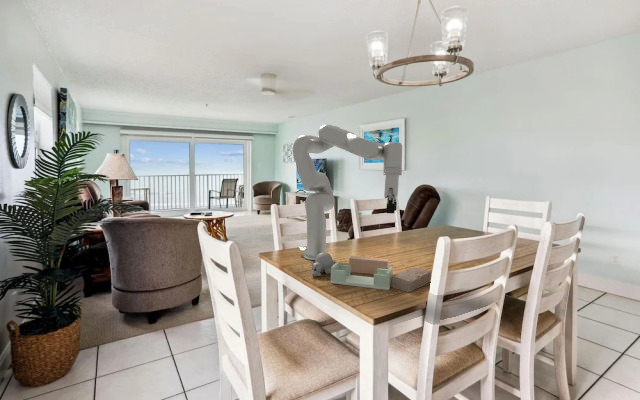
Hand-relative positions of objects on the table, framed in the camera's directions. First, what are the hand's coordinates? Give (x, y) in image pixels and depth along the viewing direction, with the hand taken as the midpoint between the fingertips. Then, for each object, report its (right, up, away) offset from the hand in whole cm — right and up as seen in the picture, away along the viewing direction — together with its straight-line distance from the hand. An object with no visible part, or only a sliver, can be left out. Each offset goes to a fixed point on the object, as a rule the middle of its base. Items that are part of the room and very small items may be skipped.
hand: (391, 211), depth 141 cm
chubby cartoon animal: (-30, -26, -4) cm, 40 cm away
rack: (-15, -27, -15) cm, 34 cm away
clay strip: (-10, -26, -2) cm, 28 cm away
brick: (+4, -27, -16) cm, 32 cm away
